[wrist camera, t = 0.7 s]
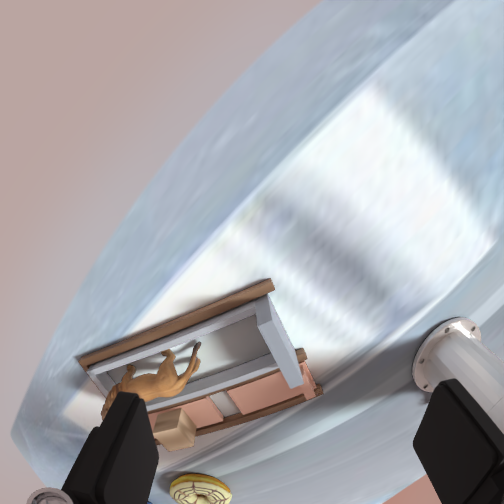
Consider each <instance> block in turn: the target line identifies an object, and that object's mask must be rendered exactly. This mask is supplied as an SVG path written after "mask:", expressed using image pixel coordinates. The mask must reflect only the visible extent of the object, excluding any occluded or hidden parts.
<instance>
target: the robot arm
mask: <svg viewBox="0 0 504 504" xmlns="http://www.w3.org/2000/svg"><path fill="white" fill-rule="evenodd" d="M412 375H413V379H414V381H415V383H416V384H417V386H418V387H419V388H420V389H422V390H424V391H426V392H433V394H432V396H431V399H430V402H429V404H428V407H427V409H426V412H425V414H424V417H423V419H422V421H421V424H420V426H419V428H418V431H417V433H416V435H415V437H414V440H413V447H414V450H415V452H416V454H417V456H418V457H419V459H420V461H421V463H422V465H423V467H424V469H425V471H426V473H427V475H428V477H429V479H430V481H431V483H432V485H433V487H434V489H435V491H436V493H437V495H438V497H439V499H440V501H441V503H442V504H504V361H502V360H501V359H500V358H499V357H498V356H497V355H496V354H494V353H493V352H492V351H491V350H490V349H489V348H487V347H486V346H485V345H484V344H483V343H482V342H481V333H480V330H479V327H478V326H477V325H476V324H475V323H474V322H473V321H472V320H470V319H468V318H463V317H459V318H454V319H451V320H448V321H447V322H445V323H443V324H441V325H440V326H439V327H437V328H436V329H435V330H434V331H433V332H432V333H431V334H430V335H429V336H428V337H427V338H426V339H425V341H424V342H423V343H422V345H421V347H420V348H419V350H418V352H417V354H416V356H415V359H414V362H413V368H412ZM158 460H159V454H158V450H157V446H156V443H155V439H154V436H153V432H152V428H151V424H150V420H149V417H148V413H147V408H146V404H145V401H144V399H142V398H139V395H138V394H137V393H130V392H123V391H120V392H118V394H117V395H116V397H115V399H114V401H113V403H112V405H111V407H110V408H109V410H108V412H107V414H106V416H105V418H104V420H103V422H102V424H101V425H100V427H95V428H93V430H92V431H91V433H90V434H89V436H88V438H87V440H86V442H85V444H84V446H83V448H82V449H81V451H80V453H79V455H78V457H77V459H76V461H75V463H74V465H73V467H72V469H71V471H70V473H69V475H68V477H67V479H66V481H65V483H64V485H63V487H62V489H61V490H59V489H56V488H50V487H49V488H42V489H39V490H37V491H35V492H34V493H32V494H31V496H30V497H29V499H28V500H27V504H147V502H148V498H149V494H150V490H151V487H152V483H153V479H154V476H155V472H156V468H157V465H158Z"/></svg>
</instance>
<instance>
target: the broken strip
mask: <svg viewBox="0 0 504 504" xmlns="http://www.w3.org/2000/svg"><path fill="white" fill-rule="evenodd" d="M299 367H300V371H301V374H302V378H303V382H304V384H302V385H299V386H297V387H294V388H292V389H290V387H289V385H288V383H287V381H286V379H285V378H284V376H283V374H282V372H281V370H279V371H277V372H274V373H272V374H269V375H266V376H264V377H261V378H258V379H256V380H253V381H250V382H248V383H245V384H242V385H239V386H236V387H233V388H231V389H228V390H227V392H228V394H229V395H230V397H231V398H232V400H233V401H234V403H235V404H236V406H237V407H238V408H239V410H240V411H241V413H242V414H243V415H244V414H247V413H250V412H253V411H256V410H259V409H262V408H265V407H268V406H271V405H273V404H276V403H279V402H282V401H284V400H287V399H290V398H292V397H295V396H298V395H300V394H304V396H305V398H306V399H307V400H308V399H311V398H313V397H316V395H315V392H314V389H315V388H317V387H316V384H315V382H314V379H313V377H312V375H311V373H310V371H309V369H308V367H307V365H306V363H305V361H301V362H299ZM179 408H182V409H183V410H184V411H185V413H186V414H187V415H188V416H189V418H190V419H191V420H192V421H193V422H194V424H195V425H196V426H197V427H196V428H200V427H204V426H207V425H211V424H215V423H218V422H221V421H223V415H222V414H221V412H220V411H219V410H218V408H217V407H216V405H215V404H214V403H213V401H212V400H211V399H210V397H209V396H206V397H203V398H200V399H197V400H194V401H190V402H187V403H184V404H180V405H177V406H173V407H170V408H166V409H163V410H159V411H155V412H151V413H148V417H149V420H150V424H151V428H152V432H153V429H154V425H155V422H156V419H157V415H158V414H161V413H165V412H168V411H172V410H176V409H179ZM153 436H154V435H153ZM154 438H155V437H154Z"/></svg>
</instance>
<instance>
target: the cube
mask: <svg viewBox="0 0 504 504" xmlns="http://www.w3.org/2000/svg"><path fill="white" fill-rule="evenodd" d="M196 427H197V426H196V425H195V424H194V422H193V421H192V420H191V419H190V418H189V416H188V415H187V414H186V413H185V411H184V410H183V409H182V408H179V409H176V410H172V411H168V412H165V413H161V414H158V415H157V419H156V422H155V425H154V429H153V435H154V437H155V438H156V439H157V440H158V441H159V442H160V443H161V444H162V445H163V446H164V447H165V448H166V449H167V450H168V451H169V452H170V451H175V450H179V449H184V448H189V447H193V446H194V440H195V434H196Z"/></svg>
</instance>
